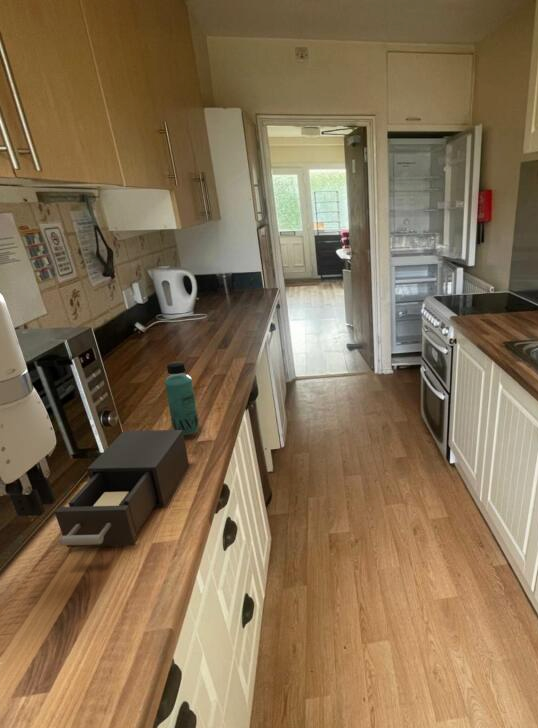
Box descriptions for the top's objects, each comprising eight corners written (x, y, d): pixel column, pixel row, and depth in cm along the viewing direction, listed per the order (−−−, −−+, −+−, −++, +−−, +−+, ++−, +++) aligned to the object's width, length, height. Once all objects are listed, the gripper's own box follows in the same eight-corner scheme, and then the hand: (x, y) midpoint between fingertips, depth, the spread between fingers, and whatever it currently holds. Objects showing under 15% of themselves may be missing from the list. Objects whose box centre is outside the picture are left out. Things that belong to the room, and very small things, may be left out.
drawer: (122, 564, 71) (112, 527, 68) (50, 567, 71) (36, 530, 67) (164, 496, 88) (158, 464, 85) (107, 497, 87) (97, 465, 84)
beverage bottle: (168, 438, 110) (153, 366, 102) (185, 426, 116) (172, 357, 108) (190, 442, 109) (177, 369, 101) (206, 430, 115) (195, 360, 107)
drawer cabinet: (164, 507, 86) (155, 467, 82) (98, 509, 85) (86, 468, 81) (189, 465, 99) (182, 429, 96) (133, 467, 98) (124, 430, 95)
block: (97, 526, 78) (91, 507, 76) (109, 510, 82) (104, 492, 80) (122, 526, 78) (117, 506, 76) (133, 510, 82) (129, 491, 80)
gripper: (7, 366, 59) (45, 476, 67) (-102, 419, 45) (-38, 552, 52) (64, 366, 60) (96, 475, 67) (-26, 418, 46) (27, 549, 53)
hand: (37, 507), depth 60 cm, fingers closed
